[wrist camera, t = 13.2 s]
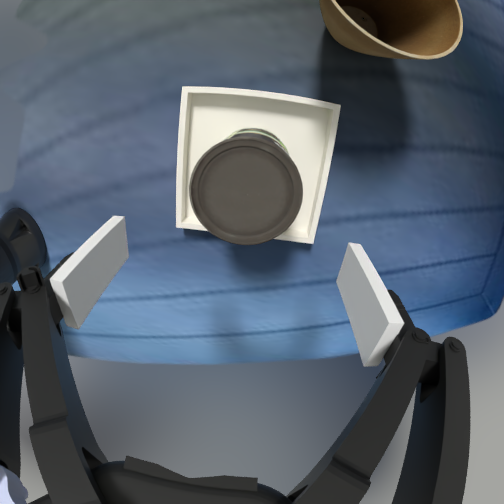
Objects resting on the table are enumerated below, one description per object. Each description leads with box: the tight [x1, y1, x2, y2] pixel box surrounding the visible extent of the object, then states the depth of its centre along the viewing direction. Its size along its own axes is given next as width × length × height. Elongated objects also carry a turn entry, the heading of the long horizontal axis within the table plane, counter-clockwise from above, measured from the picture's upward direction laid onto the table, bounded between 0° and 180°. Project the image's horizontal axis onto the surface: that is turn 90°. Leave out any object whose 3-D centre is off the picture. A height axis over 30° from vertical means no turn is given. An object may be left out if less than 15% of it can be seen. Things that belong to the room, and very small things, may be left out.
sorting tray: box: [176, 87, 341, 244], centre depth 36 cm, size 20×20×3 cm
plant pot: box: [319, 0, 463, 59], centre depth 19 cm, size 15×15×16 cm
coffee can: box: [189, 127, 303, 245], centre depth 30 cm, size 10×10×14 cm
